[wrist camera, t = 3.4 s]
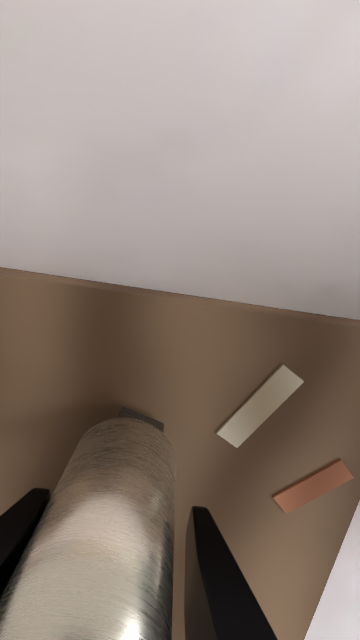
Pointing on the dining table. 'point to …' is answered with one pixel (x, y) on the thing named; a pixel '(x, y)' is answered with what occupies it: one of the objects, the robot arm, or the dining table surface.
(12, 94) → the dining table surface
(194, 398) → the board
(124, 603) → the lever
